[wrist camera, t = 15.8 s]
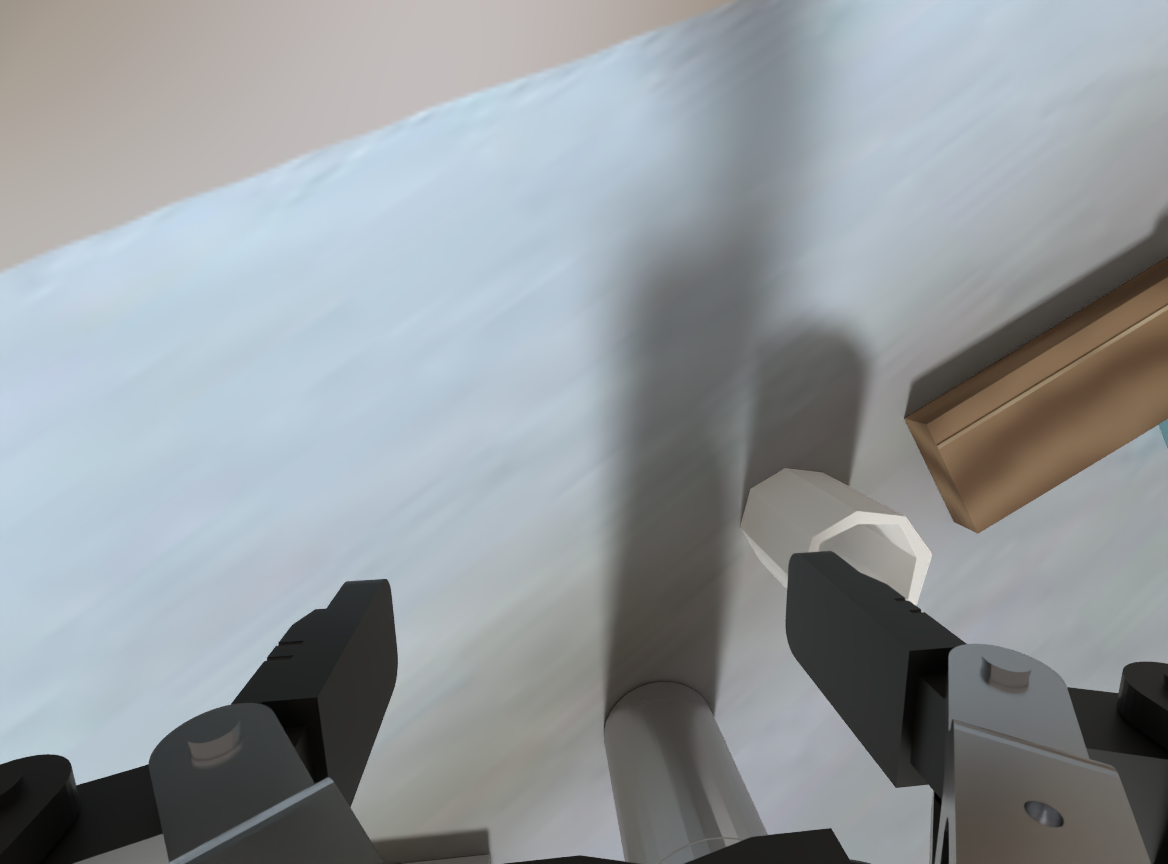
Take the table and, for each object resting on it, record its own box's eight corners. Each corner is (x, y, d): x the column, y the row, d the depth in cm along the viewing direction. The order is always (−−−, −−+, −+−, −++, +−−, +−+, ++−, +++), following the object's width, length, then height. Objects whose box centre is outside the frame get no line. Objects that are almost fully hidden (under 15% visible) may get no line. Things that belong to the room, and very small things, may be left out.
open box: (1216, 363, 45) (1257, 365, 42) (954, 521, 46) (979, 534, 43) (1179, 249, 43) (1220, 245, 40) (904, 418, 44) (927, 424, 41)
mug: (733, 479, 43) (790, 525, 34) (841, 455, 44) (928, 494, 34) (753, 619, 46) (812, 699, 36) (855, 595, 46) (940, 668, 37)
